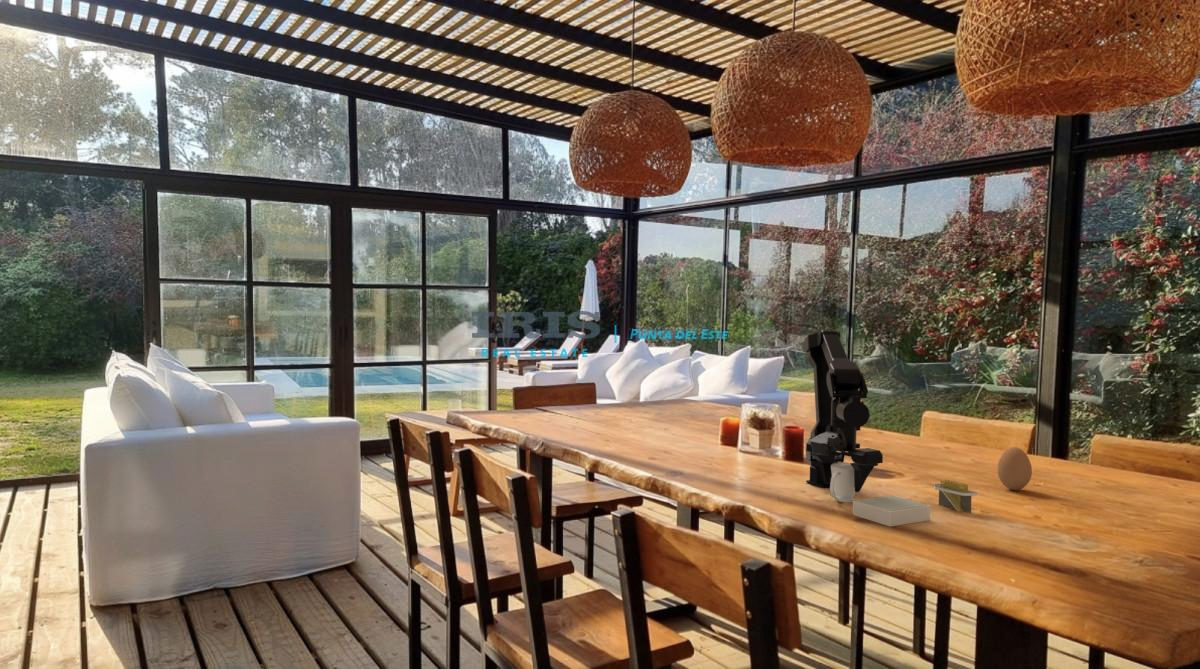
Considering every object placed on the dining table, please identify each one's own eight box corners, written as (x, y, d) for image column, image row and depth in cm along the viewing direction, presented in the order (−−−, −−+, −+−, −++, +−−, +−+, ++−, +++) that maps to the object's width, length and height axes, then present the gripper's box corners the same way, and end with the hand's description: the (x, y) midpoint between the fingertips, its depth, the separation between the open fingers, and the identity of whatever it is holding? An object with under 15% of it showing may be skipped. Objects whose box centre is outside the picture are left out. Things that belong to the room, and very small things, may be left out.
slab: (891, 508, 166) (892, 495, 166) (929, 520, 157) (930, 505, 157) (852, 514, 160) (852, 500, 160) (889, 526, 151) (890, 511, 151)
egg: (992, 485, 192) (994, 444, 192) (1024, 487, 190) (1026, 445, 190) (1002, 492, 184) (1003, 448, 184) (1035, 494, 183) (1037, 450, 183)
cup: (866, 500, 173) (867, 466, 173) (845, 507, 166) (846, 471, 166) (838, 495, 178) (839, 461, 178) (817, 501, 171) (818, 467, 171)
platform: (972, 524, 156) (973, 493, 156) (900, 504, 172) (901, 476, 171) (1006, 517, 162) (1007, 487, 162) (933, 499, 178) (934, 472, 177)
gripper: (789, 417, 177) (787, 482, 177) (848, 428, 160) (846, 500, 160) (824, 415, 182) (822, 478, 182) (885, 425, 165) (883, 495, 165)
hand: (842, 487), depth 172 cm, fingers open, 9 cm apart
